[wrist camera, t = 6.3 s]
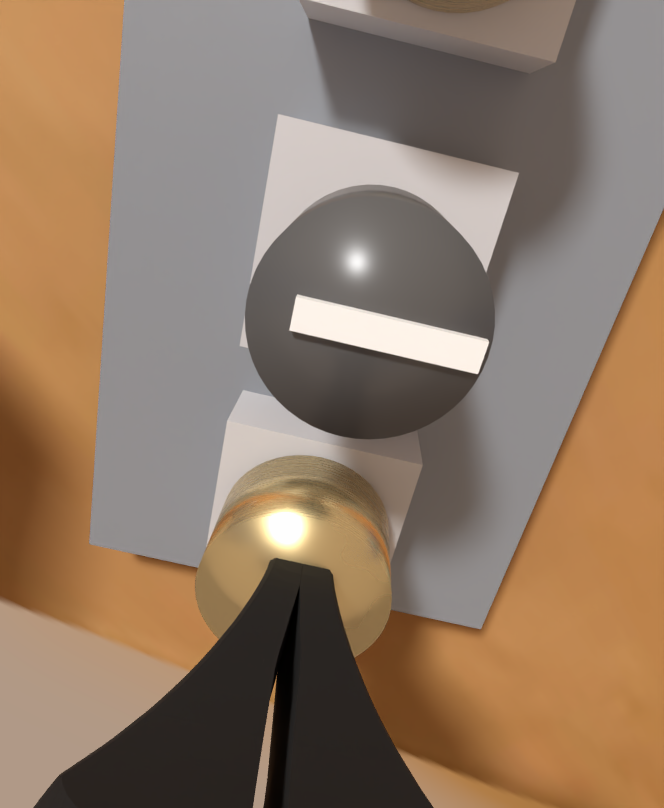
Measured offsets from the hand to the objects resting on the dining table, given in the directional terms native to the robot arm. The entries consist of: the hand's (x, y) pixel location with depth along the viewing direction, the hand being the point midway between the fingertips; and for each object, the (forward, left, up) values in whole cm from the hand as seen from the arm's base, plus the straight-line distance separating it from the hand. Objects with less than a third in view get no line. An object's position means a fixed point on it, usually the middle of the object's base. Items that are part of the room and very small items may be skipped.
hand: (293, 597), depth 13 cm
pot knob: (0, +7, -3) cm, 7 cm away
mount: (0, +7, -7) cm, 10 cm away
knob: (0, 0, -5) cm, 5 cm away
